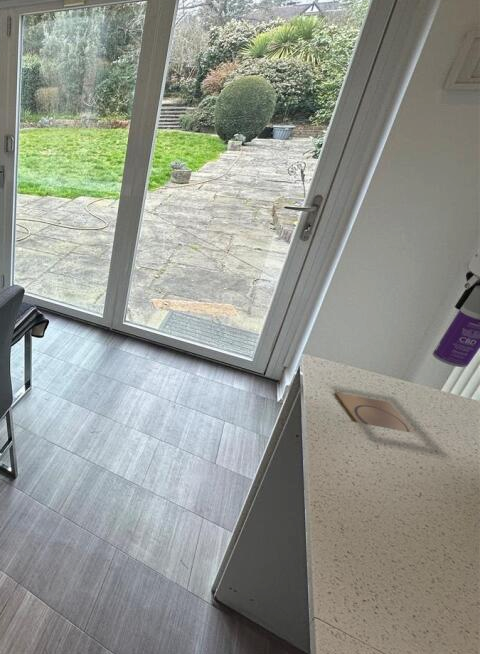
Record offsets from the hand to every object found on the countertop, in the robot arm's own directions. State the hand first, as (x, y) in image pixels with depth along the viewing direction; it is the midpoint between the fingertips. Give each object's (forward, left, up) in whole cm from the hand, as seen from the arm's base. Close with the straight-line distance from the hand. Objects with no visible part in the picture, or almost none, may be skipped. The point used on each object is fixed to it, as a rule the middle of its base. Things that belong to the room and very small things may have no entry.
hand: (478, 316), depth 74 cm
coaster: (+7, +4, -25) cm, 26 cm away
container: (0, 0, -10) cm, 10 cm away
